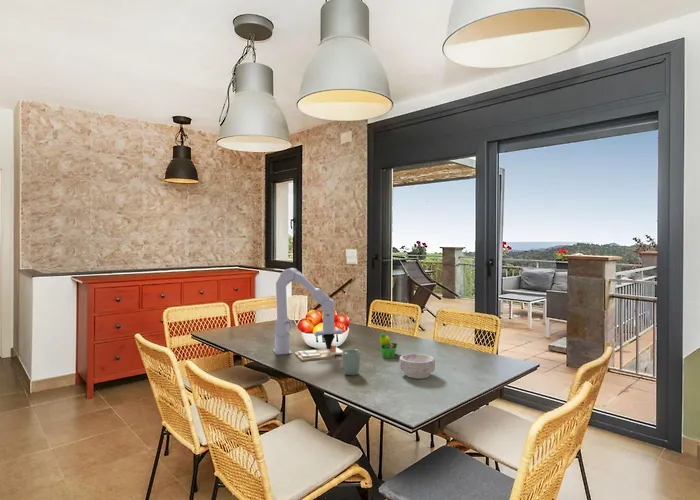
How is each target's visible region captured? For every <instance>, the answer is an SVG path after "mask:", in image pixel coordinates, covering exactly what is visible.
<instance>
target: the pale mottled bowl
mask: <svg viewBox="0 0 700 500" xmlns="http://www.w3.org/2000/svg"><path fill="white" fill-rule="evenodd" d="M435 367H436V359H435V357H434V356H431V355H428V354H423V353H420V354H419V353H407V354H406V353H405V354H403V355H401V356H399V370H400V371H403V372H404V375H405V376H406V377H408V378H411V379H416V380H417V379H418V380H419V379H420V380H421V379H422V380H423V379H426V378H428V377H429V376H430V375H431V373H433V372H435V371H436V368H435Z"/></svg>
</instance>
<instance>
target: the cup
mask: <svg viewBox="0 0 700 500" xmlns="http://www.w3.org/2000/svg"><path fill="white" fill-rule="evenodd" d="M342 351H343V354H341V355H342V356H341V357H342V370H343V373H344V374H345V375H346V376H355V375H357V374H359V372H360V368H361V350H358V349H355V348H354V349H353V348H349V349H343V350H342Z"/></svg>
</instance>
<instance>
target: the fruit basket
mask: <svg viewBox="0 0 700 500" xmlns="http://www.w3.org/2000/svg"><path fill="white" fill-rule="evenodd" d="M378 338H379V344H380V345H381V346H380V350H381V354H382V358H384V359H385V358H386V359H394V357H395V354H396V351H397V348H398V347H397V346H398V343H395V342H391V337H390V336H388V335H386V334H385V332H383V333H380V334H379V337H378Z"/></svg>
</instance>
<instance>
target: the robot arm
mask: <svg viewBox="0 0 700 500" xmlns="http://www.w3.org/2000/svg"><path fill="white" fill-rule="evenodd" d="M291 282H294V283H299V284H300V285H302V286H303V287H304V288H305V289H307V291H309V293H311V298H312V299H313V300H315V301H316V302H317V303H318V304H319V305H320V306H321V308H322V312H323V313H322V330H317V331H314V332H313V333H314V336H315V337H318V336H322V338H323V340H324V343H325V346H326V348H325V349H326V350H327V349H330V347H331V344H332V343H333V341H334V339H335V335H343V330H342V329H335V306H336V302H335V300H334V298H331V296H329V295H327V293H325V292H324V289H323V288H320V287H318V288H317V287H315V286H314V285H313V283H311V281H310V280H309V279H308V278H306V276H304V275H303V273H302V272H301V271H299V270H298V269H297V268H295V267H290V268H286V269H283V271H282V272H280V275H279V277H278V278H277V281H276V282H275V294H276V320H275V326H274V334H275V337H274V348H273V349H272V351H273V352H274V354H276V355H277V356H278V355H288V354H292V353H293V352H292V350H290V346H291V345H290V343H291V342H290V340H291V338H290V336H291V335H290V331H291V328H292V327H291V324H290V320H289V319H290V318H289V317H288V302H287V286H288V285H289V284H290V283H291Z"/></svg>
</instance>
